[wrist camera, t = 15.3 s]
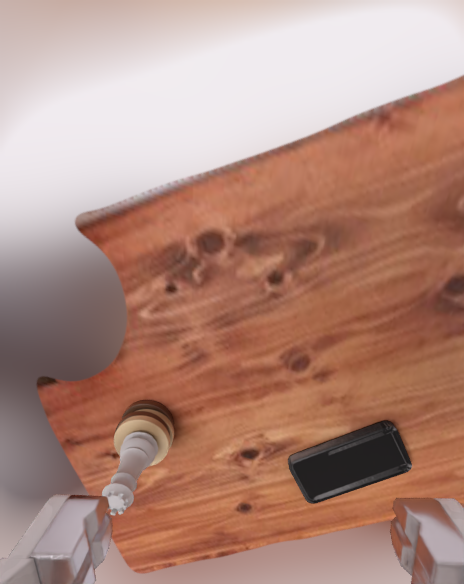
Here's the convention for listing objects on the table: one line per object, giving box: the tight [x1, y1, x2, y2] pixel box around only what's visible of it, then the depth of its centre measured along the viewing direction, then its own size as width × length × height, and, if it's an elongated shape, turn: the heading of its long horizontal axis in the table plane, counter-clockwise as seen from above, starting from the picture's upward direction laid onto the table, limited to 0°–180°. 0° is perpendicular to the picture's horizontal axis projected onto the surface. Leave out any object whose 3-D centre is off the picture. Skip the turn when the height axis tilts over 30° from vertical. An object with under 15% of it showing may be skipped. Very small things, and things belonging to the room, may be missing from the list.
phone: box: [288, 421, 412, 504], centre depth 39 cm, size 8×1×15 cm
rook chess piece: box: [102, 431, 158, 515], centre depth 32 cm, size 4×4×8 cm
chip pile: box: [114, 400, 174, 466], centre depth 38 cm, size 8×8×4 cm
